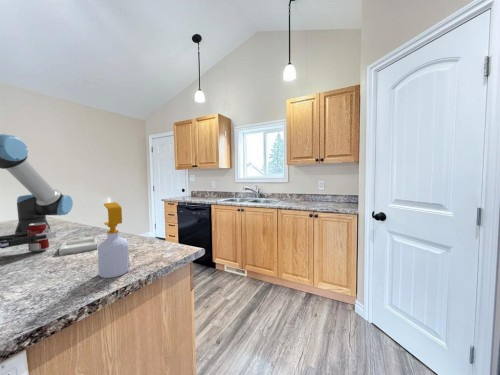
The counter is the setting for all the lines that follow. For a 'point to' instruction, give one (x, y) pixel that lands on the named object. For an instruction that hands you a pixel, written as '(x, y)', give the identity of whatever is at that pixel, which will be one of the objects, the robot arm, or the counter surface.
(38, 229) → the soda can
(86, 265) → the counter surface
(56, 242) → the counter surface
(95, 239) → the square tray
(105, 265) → the soap bottle
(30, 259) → the counter surface
